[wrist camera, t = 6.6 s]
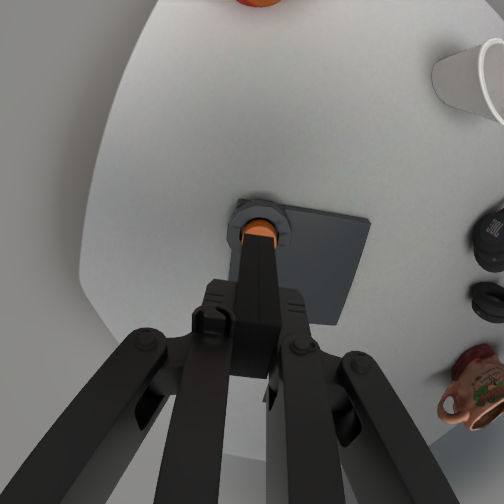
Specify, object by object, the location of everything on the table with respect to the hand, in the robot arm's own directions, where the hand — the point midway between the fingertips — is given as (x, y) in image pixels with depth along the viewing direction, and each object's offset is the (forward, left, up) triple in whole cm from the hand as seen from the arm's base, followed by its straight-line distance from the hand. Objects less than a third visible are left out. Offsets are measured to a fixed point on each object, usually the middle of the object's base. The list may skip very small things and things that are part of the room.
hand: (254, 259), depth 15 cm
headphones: (+38, -1, -15) cm, 41 cm away
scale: (+5, -9, -15) cm, 18 cm away
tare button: (+1, -4, -13) cm, 13 cm away
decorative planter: (+44, -26, -15) cm, 53 cm away
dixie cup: (+19, +16, -15) cm, 30 cm away
